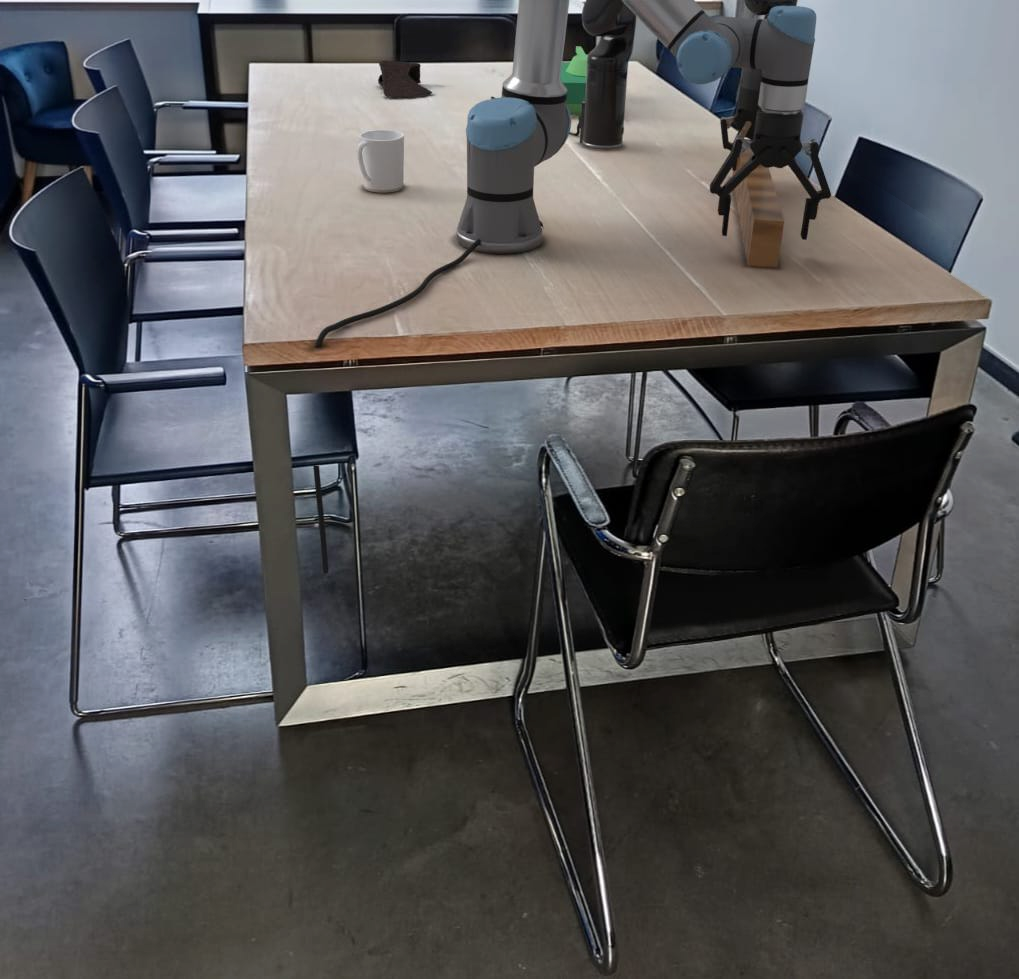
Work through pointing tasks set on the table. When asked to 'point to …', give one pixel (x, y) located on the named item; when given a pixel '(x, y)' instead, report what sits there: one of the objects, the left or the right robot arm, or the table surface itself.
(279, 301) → the table surface
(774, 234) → the brown wooden bar
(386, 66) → the dark brown boot
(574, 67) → the green gift box
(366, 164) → the mug
